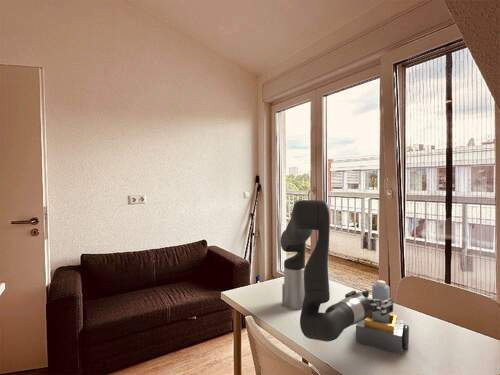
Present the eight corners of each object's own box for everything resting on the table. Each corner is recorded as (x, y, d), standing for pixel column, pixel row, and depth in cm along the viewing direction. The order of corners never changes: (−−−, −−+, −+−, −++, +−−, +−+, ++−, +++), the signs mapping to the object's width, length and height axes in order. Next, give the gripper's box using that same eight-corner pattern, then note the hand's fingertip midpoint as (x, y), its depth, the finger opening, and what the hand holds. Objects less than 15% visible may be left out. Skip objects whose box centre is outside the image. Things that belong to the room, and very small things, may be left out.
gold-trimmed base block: (355, 342, 101) (356, 319, 101) (363, 327, 112) (363, 306, 111) (406, 356, 93) (407, 331, 93) (409, 339, 104) (409, 316, 103)
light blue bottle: (370, 324, 102) (371, 282, 101) (373, 318, 106) (373, 278, 106) (388, 328, 99) (388, 285, 98) (390, 322, 103) (390, 280, 103)
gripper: (374, 305, 86) (400, 292, 96) (333, 291, 97) (360, 280, 107) (374, 330, 86) (400, 314, 96) (333, 313, 97) (360, 301, 107)
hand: (379, 296), depth 102 cm, fingers open, 8 cm apart
